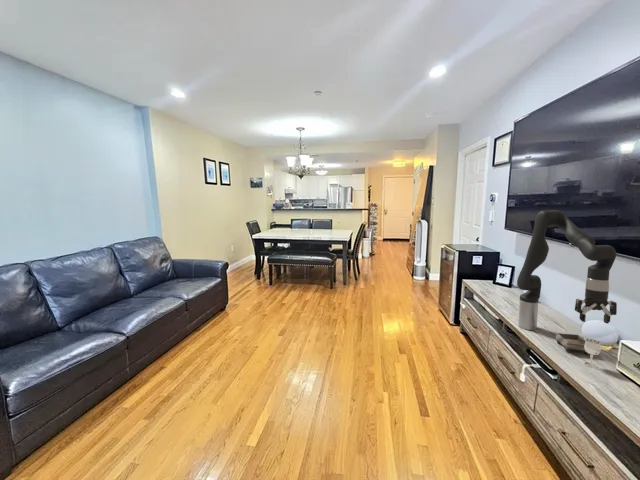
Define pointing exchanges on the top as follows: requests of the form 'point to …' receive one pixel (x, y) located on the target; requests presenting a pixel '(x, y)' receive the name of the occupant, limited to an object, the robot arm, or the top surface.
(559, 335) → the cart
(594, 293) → the robot arm
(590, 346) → the wineglass
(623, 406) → the top surface
